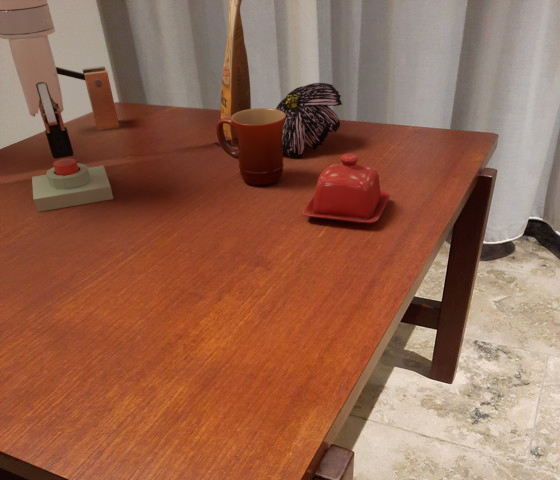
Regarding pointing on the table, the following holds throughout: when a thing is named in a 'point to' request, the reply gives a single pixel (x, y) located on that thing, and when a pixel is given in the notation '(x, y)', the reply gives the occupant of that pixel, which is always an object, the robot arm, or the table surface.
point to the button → (65, 166)
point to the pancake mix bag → (235, 72)
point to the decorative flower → (308, 117)
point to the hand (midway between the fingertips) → (63, 155)
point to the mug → (256, 144)
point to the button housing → (71, 188)
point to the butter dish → (348, 193)
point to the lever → (70, 73)
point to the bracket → (101, 98)
